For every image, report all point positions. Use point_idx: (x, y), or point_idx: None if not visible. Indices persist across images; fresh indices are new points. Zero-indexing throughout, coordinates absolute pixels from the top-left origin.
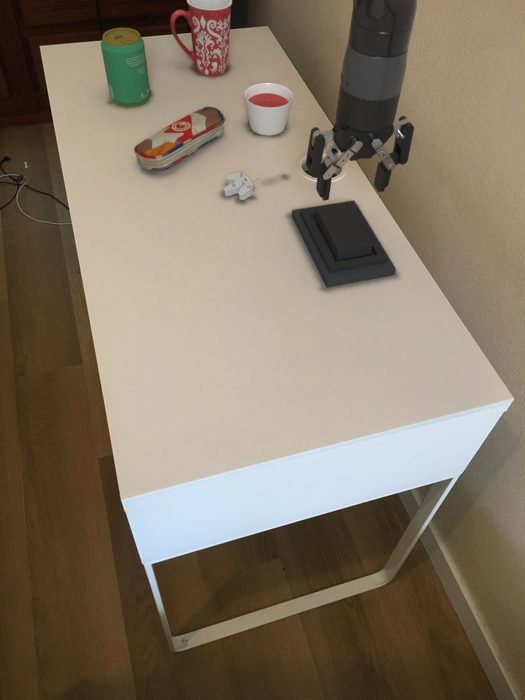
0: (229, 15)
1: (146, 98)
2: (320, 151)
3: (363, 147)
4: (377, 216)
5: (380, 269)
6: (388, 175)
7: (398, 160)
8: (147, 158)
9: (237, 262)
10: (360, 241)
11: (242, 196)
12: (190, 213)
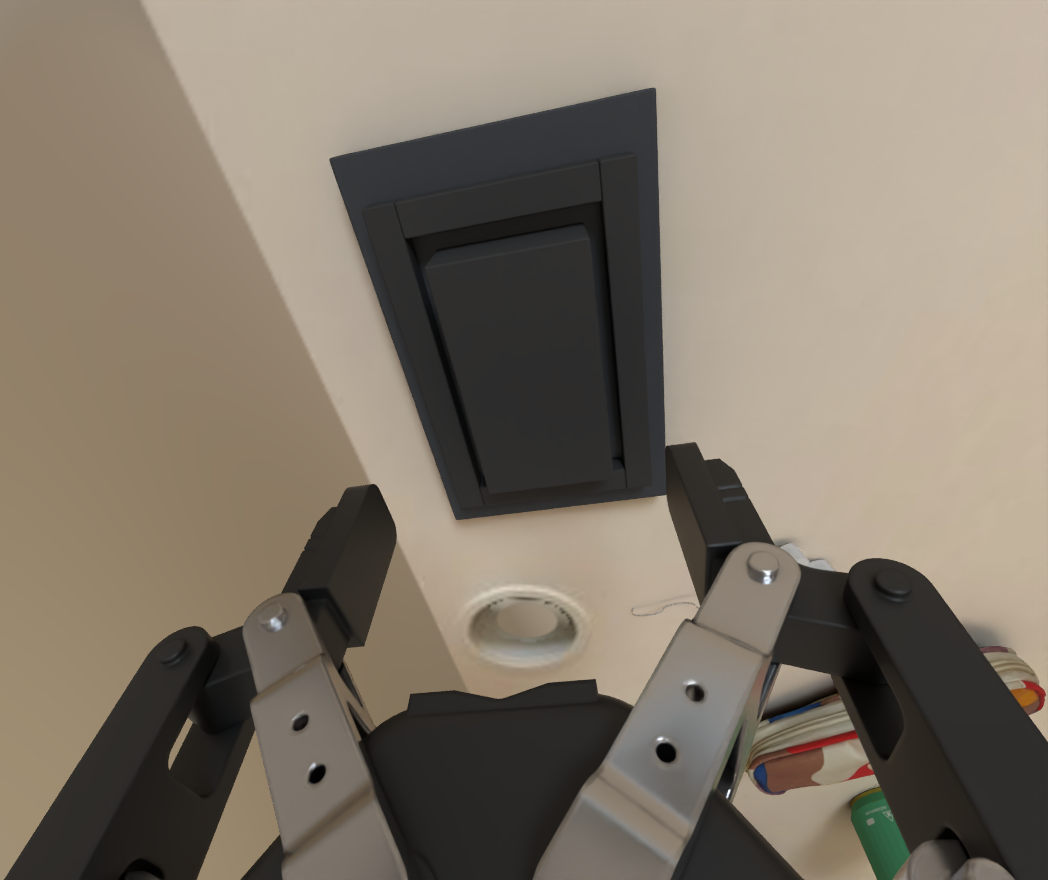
0: None
1: (870, 802)
2: (1030, 831)
3: (492, 821)
4: (386, 461)
5: (399, 161)
6: (308, 564)
7: (218, 657)
8: (1034, 681)
9: (945, 278)
10: (477, 289)
11: (797, 552)
12: (967, 507)
